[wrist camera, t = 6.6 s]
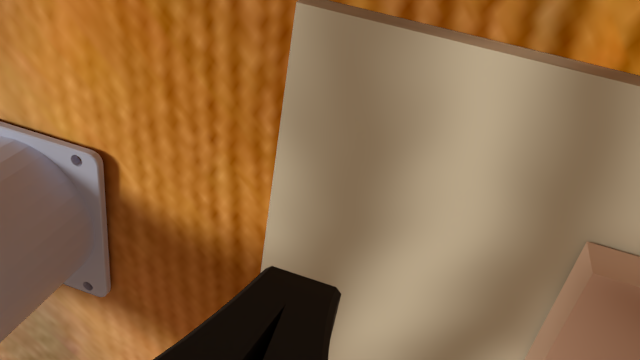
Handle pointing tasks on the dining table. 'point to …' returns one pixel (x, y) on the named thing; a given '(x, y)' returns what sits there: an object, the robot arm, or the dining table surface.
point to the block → (594, 310)
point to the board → (444, 181)
